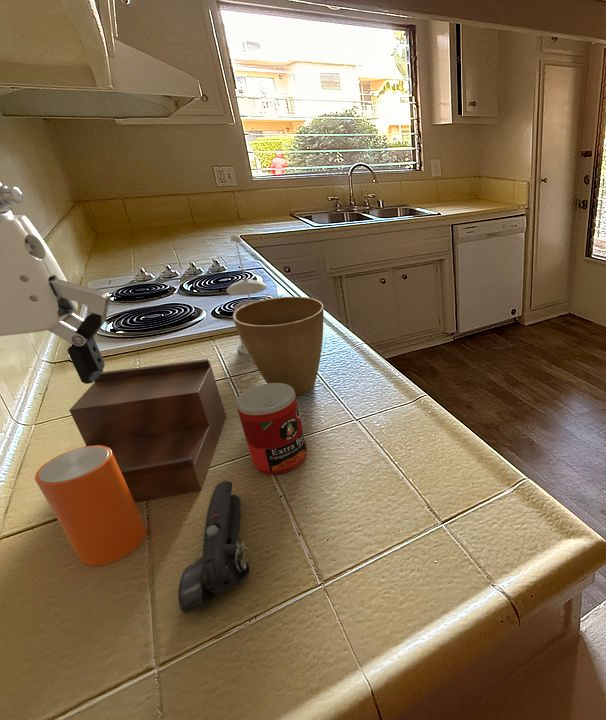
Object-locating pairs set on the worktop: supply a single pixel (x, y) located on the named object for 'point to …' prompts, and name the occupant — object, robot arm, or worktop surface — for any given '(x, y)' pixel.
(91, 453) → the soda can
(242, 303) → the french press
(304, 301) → the plant pot
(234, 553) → the can opener
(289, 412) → the canned food
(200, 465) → the step shelf
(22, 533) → the worktop surface
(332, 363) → the worktop surface
